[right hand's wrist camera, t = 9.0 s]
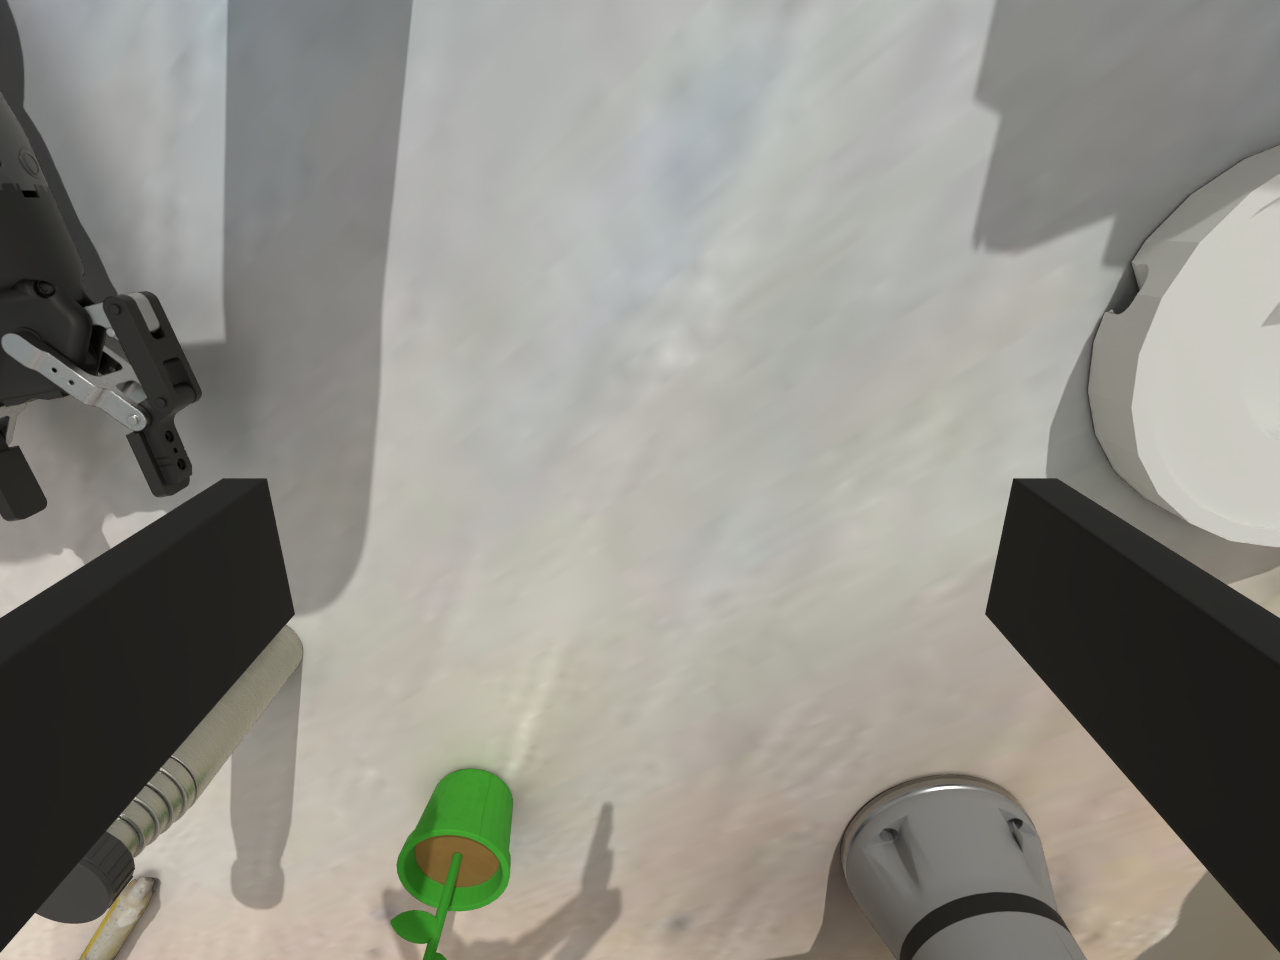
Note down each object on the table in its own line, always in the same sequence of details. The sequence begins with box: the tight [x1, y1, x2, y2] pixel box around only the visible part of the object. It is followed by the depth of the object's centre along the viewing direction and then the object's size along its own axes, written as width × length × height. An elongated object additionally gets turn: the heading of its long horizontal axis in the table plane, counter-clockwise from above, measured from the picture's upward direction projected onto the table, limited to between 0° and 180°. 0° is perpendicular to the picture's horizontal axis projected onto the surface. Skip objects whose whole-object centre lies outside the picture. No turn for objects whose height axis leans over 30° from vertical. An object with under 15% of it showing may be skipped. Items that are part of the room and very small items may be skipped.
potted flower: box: [391, 769, 513, 960], centre depth 42 cm, size 9×8×25 cm
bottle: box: [106, 625, 303, 858], centre depth 40 cm, size 5×5×19 cm
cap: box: [35, 832, 135, 924], centre depth 32 cm, size 4×4×2 cm
